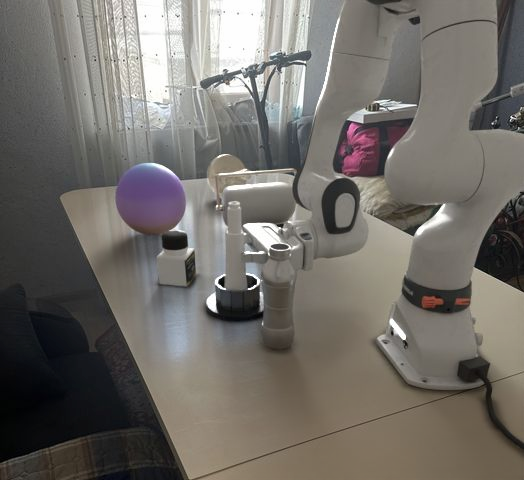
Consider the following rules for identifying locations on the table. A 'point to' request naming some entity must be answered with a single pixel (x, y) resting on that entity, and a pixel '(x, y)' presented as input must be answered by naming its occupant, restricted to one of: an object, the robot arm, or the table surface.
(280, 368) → the table surface
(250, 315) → the stand
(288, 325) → the plastic bottle
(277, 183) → the lamp
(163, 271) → the medicine bottle
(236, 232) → the cosmetic bottle
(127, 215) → the ball
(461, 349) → the robot arm
